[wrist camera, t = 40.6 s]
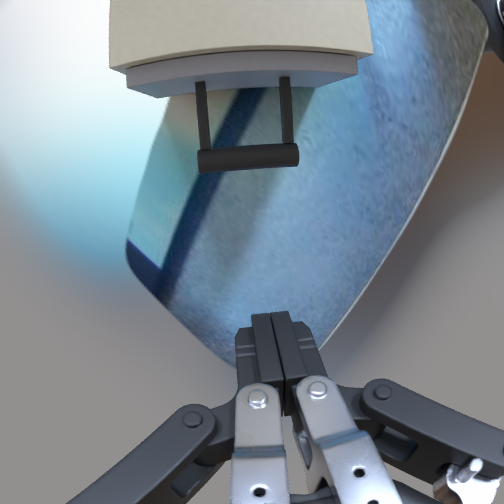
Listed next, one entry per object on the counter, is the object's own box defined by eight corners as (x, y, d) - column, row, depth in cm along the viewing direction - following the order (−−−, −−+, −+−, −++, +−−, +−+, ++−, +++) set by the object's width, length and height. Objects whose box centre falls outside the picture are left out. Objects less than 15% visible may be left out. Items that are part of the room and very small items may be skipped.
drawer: (321, 155, 22) (361, 171, 15) (164, 168, 22) (138, 189, 15) (301, -50, 13) (326, -92, 7) (155, -43, 13) (135, -85, 6)
